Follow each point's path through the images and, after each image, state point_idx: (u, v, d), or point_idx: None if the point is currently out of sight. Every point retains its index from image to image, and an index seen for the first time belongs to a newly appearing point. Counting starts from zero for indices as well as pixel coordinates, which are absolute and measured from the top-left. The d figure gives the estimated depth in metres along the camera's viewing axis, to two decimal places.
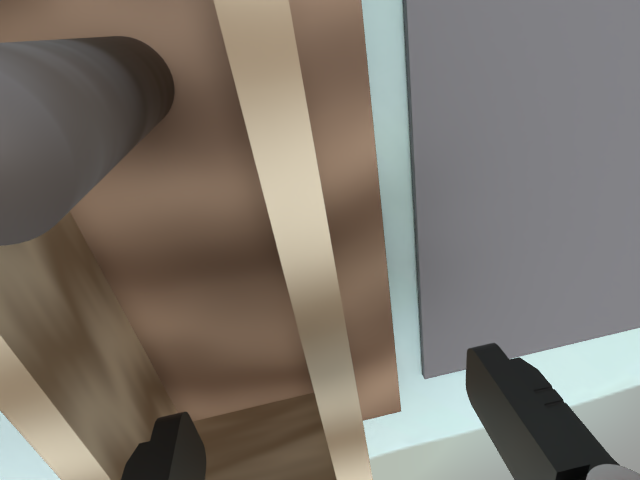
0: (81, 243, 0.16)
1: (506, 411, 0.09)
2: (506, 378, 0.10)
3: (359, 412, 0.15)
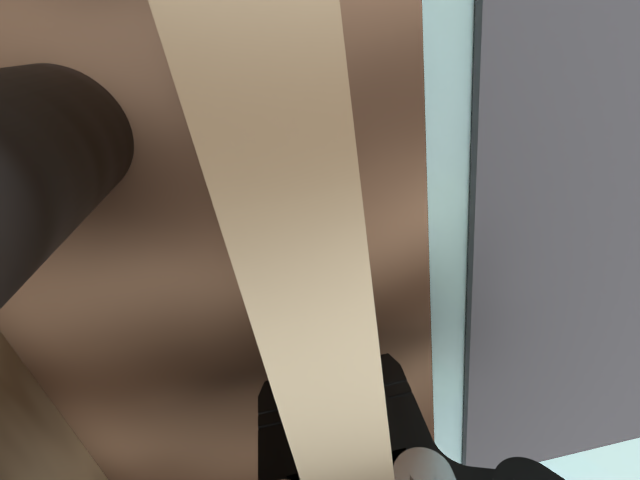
0: (4, 355, 0.11)
1: None
2: None
3: None
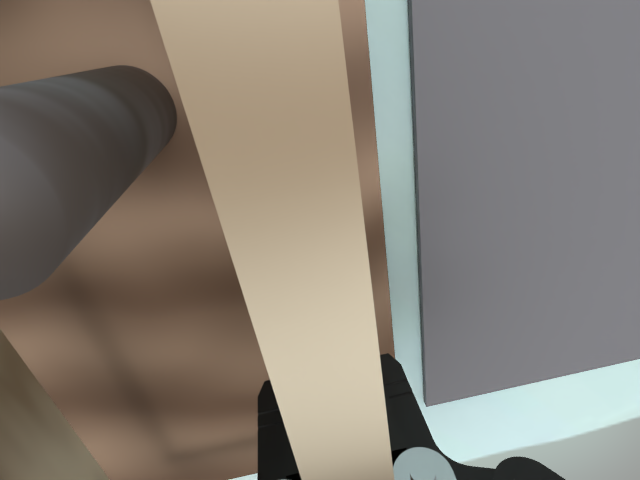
0: (5, 354, 0.11)
1: None
2: None
3: None
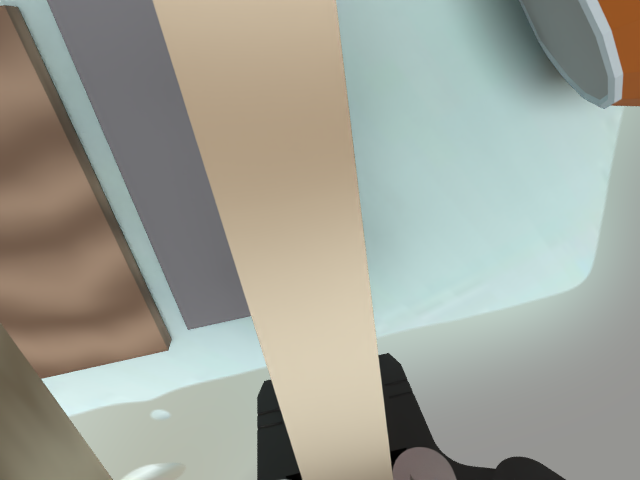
0: (10, 353, 0.11)
1: None
2: None
3: None
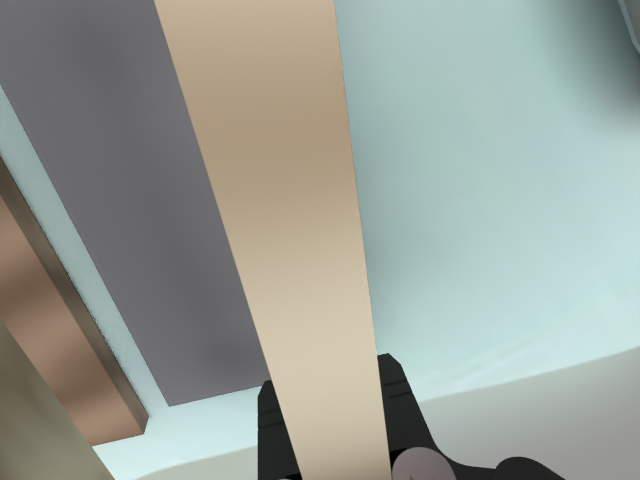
0: (11, 351, 0.11)
1: None
2: None
3: None
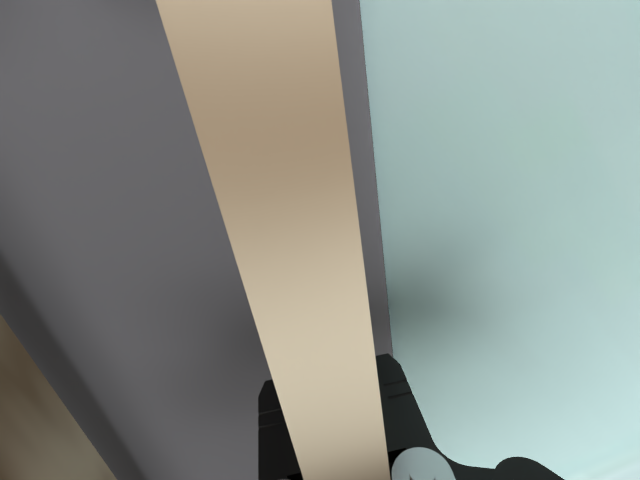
0: (13, 350, 0.11)
1: None
2: None
3: None
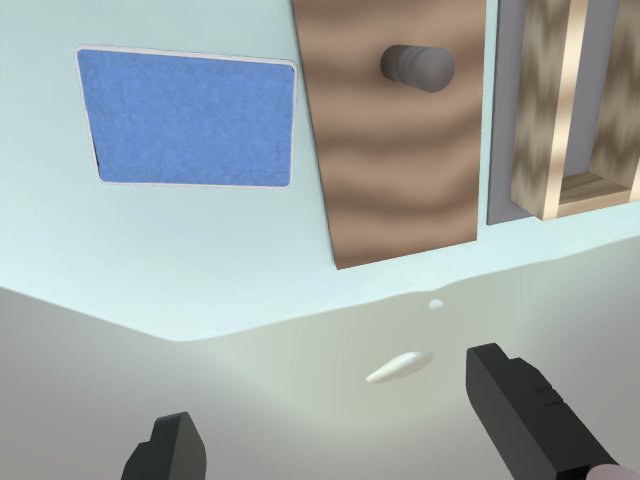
0: None
1: (506, 411, 0.09)
2: (506, 378, 0.10)
3: None
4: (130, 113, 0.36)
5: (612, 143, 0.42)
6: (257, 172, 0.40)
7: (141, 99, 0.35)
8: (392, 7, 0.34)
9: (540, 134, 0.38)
